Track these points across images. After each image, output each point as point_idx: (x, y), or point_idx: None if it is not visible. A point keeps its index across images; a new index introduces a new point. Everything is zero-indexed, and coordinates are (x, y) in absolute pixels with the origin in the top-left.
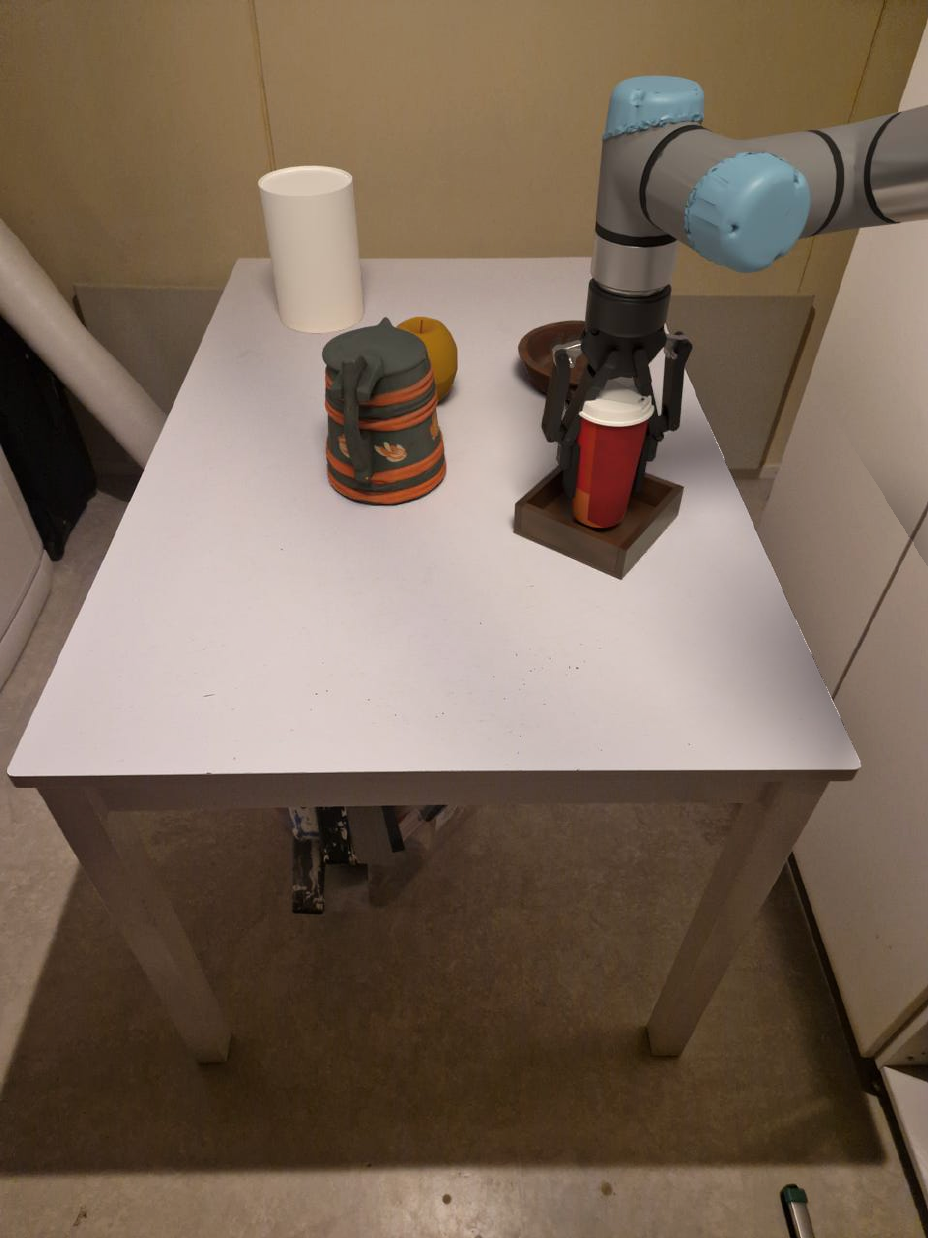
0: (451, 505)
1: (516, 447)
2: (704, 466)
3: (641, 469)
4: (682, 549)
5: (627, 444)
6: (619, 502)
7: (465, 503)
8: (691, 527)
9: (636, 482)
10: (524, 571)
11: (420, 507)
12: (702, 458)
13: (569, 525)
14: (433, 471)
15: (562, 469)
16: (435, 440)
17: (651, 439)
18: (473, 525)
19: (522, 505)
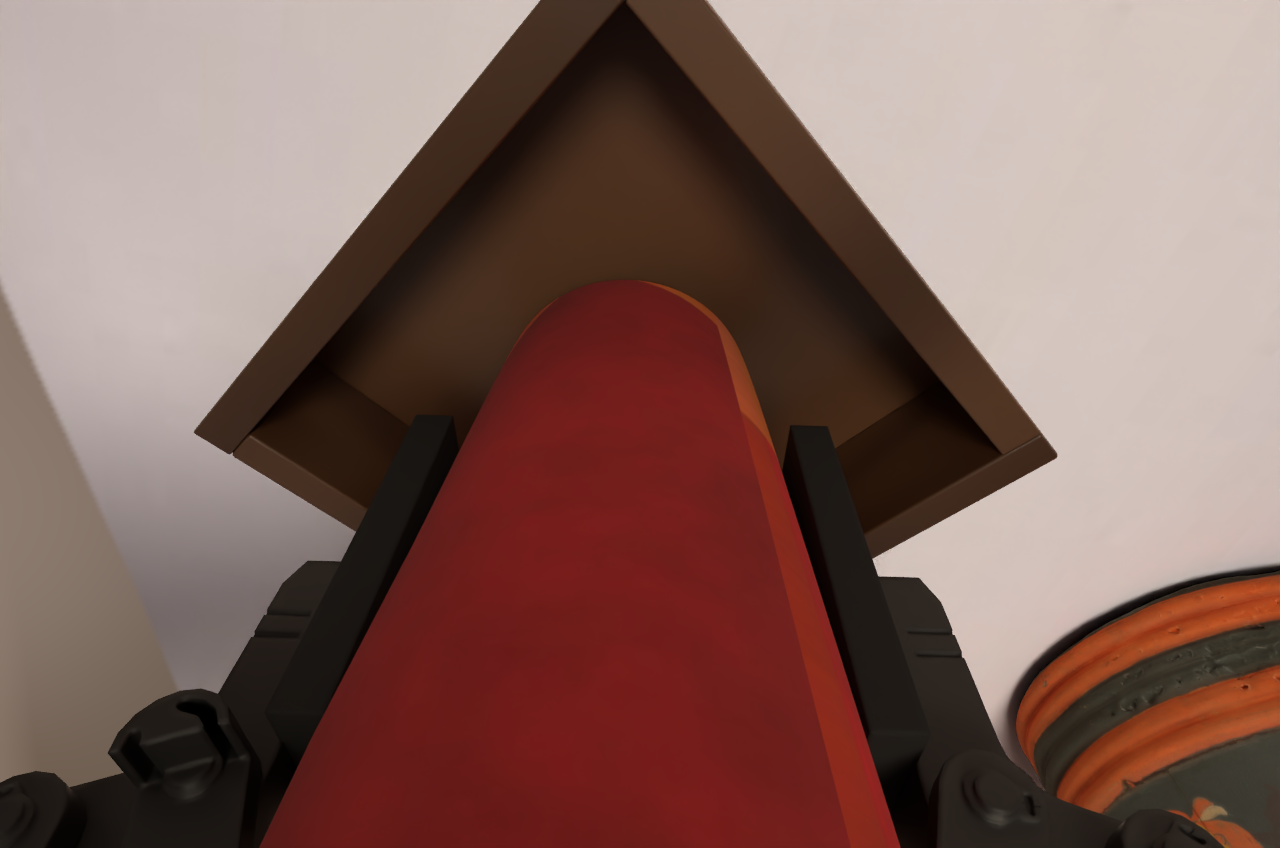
0: (1118, 533)
1: None
2: (165, 563)
3: (392, 515)
4: (268, 115)
5: (495, 717)
6: (561, 347)
7: (1064, 534)
8: (219, 263)
9: (437, 455)
10: (1091, 95)
11: (1229, 541)
12: (173, 595)
13: (885, 245)
14: (1175, 670)
15: (909, 581)
16: (1184, 794)
17: (265, 716)
18: (1112, 428)
19: (1032, 439)
